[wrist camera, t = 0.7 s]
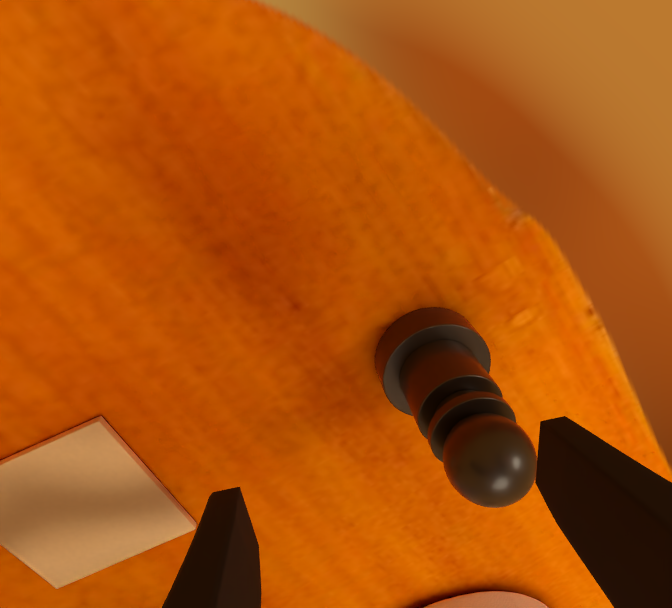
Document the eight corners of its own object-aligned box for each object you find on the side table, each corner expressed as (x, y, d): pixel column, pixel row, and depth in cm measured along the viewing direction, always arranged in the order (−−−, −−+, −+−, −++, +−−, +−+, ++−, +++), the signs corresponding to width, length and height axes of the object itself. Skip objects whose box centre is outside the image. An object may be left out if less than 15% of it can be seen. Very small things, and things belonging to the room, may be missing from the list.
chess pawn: (458, 399, 23) (549, 547, 16) (364, 392, 22) (416, 548, 15) (489, 312, 21) (609, 437, 14) (388, 301, 20) (461, 429, 13)
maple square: (197, 522, 24) (196, 529, 24) (59, 581, 24) (56, 589, 24) (101, 414, 20) (98, 421, 20) (-59, 486, 21) (-65, 493, 20)
